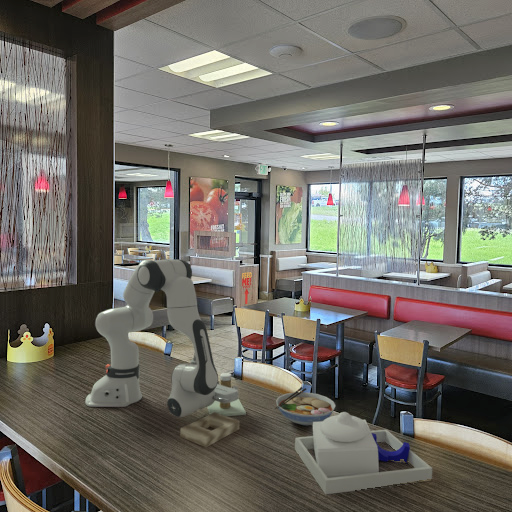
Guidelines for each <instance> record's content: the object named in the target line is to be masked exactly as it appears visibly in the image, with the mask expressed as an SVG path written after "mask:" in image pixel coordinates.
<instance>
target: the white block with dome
mask: <svg viewBox="0 0 512 512" xmlns="http://www.w3.org/2000/svg"><path fill="white" fill-rule="evenodd" d="M371 431H372V430H371V429H370V427H369V425H368V423H367V420H366V419H362V418H360V417H357V416H354V415H351V414H350V413H348V412H346V411H342V412H340V413H338V414H337V415H330V417H329V418H326V419H325V420H324V421H322V422H313V425H312V436H313V440H314V449H313V450H314V457H315V461H316V463H317V464H318V465H319V467H320V468H321V469H322V471H323V472H324V474H325V475H326V476H327V478H334V477H343V476H352V475H360V474H369V473H378V472H379V471H380V469H379V466H380V465H379V460H378V448H377V444H378V443H377V444H376V442H375V440H374V438H373V436H372V433H371Z"/></svg>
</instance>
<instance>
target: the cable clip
mask: <svg viewBox="0 0 512 512" xmlns="http://www.w3.org/2000/svg"><path fill="white" fill-rule="evenodd" d="M372 436H373V438H374V440H375V442H376V444H377V448H378V461H382V462H386V463H387V462H388V461H389V460H394V461H400V459H404V461H405V462H406V463H408V462H407V458H408V454H409V450H411V446H410V443H409V442H405V441H403V442H402V443H403V445H402V447H401V448H400V449H398V450H396V451H394V450H392V451H390V450H385V449H384V448H382V447H381V446H380V445H379V443H377V441H376V439H377V437H376V434H374V433H372Z"/></svg>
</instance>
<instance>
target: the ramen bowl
mask: <svg viewBox="0 0 512 512" xmlns="http://www.w3.org/2000/svg"><path fill="white" fill-rule="evenodd" d="M306 391H307V387H304V388H303V387H302V386H301V387H299V388H298V389H297V390H296V391H295V392H290V393H285V394H282V395H280V396H278V397H277V399H276V400H275V401H276V407H274V410H277V409H278V410H279V412H280V413H281V414H282V417H283V416H284V417H285V418H286V419H287V420H288V421H290V422H292V423H295V424H298V425H301V426H313V422H322V421H324V420H325V419H326V418H329V417H331V416H332V414H333V412H334V411H335V408H336V403H335V402H334V400H332V399H331V398H329V397H328V396H324V395H321V394H319V393H312V392H306Z"/></svg>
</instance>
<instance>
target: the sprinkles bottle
mask: <svg viewBox="0 0 512 512" xmlns="http://www.w3.org/2000/svg"><path fill="white" fill-rule="evenodd" d="M219 379H220V381H219V382H220V383H219V384H220V385H223V386H226V387H229V388H232V374H231V373H228V372H222V373H220V375H219ZM230 406H231V405H230V403H221V402H220V407H221V408H223V409H227V408H230Z"/></svg>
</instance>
